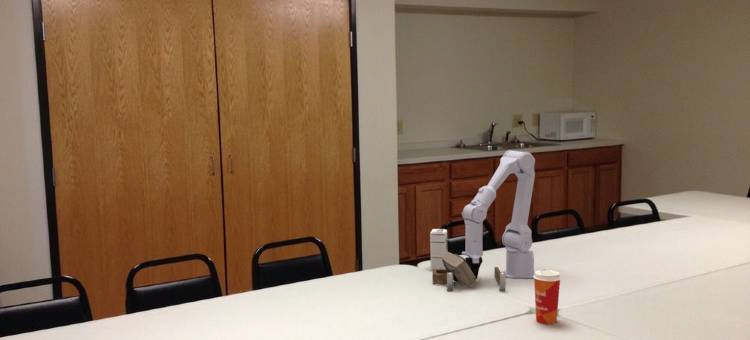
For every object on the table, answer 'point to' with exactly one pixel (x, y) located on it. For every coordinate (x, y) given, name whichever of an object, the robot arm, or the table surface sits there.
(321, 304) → the table surface
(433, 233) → the syrup box
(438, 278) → the tunnel
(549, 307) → the paper cup
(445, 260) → the camera
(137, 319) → the table surface
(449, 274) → the gate post
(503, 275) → the gate post
